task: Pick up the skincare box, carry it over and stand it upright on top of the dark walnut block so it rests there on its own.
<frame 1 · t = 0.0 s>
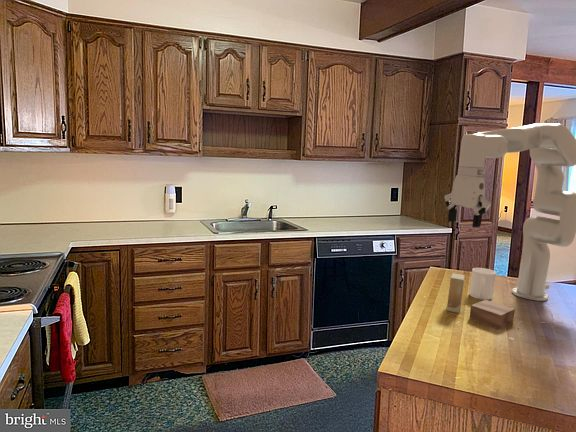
hand: (463, 224, 146), 31 cm above the counter, fingers open, 9 cm apart
mug: (480, 298, 169), on the counter
walnut block: (490, 321, 147), on the counter
skincare box: (453, 309, 155), on the counter
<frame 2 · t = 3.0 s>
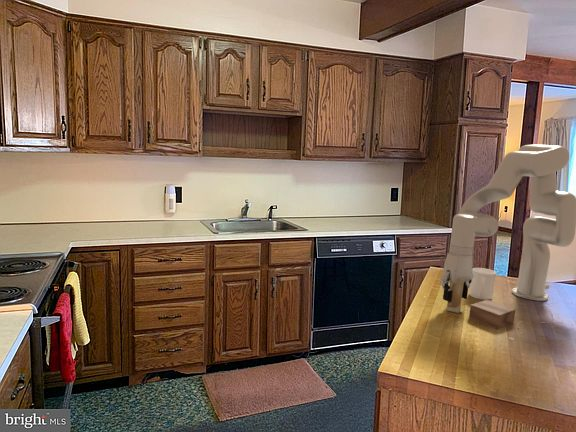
hand: (454, 298, 154), 4 cm above the counter, fingers closed on skincare box, 7 cm apart
skincare box: (453, 309, 155), on the counter, touching gripper
everything else where it was.
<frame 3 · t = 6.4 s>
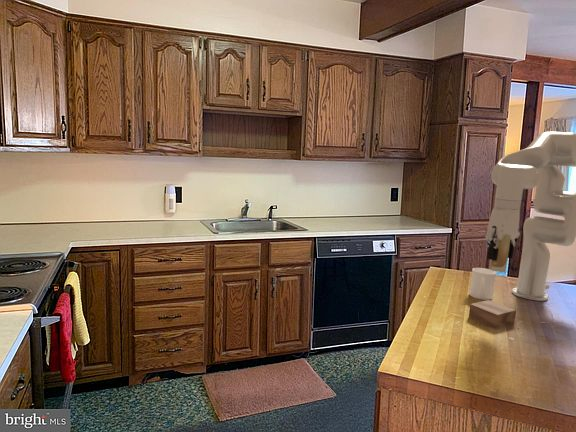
hand: (499, 258, 143), 21 cm above the counter, fingers closed on skincare box, 7 cm apart
skincare box: (498, 270, 144), point 17 cm above the counter, touching gripper
everything else where it was.
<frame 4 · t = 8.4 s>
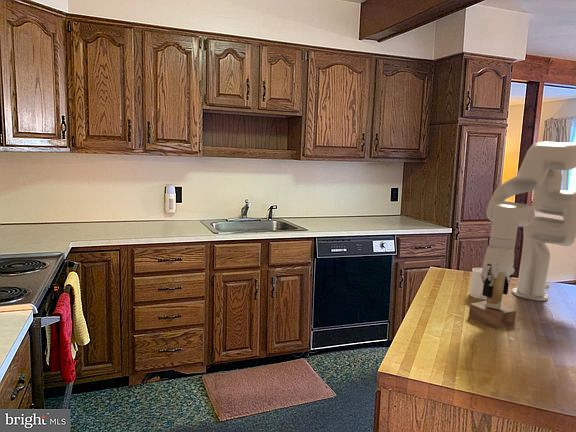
hand: (494, 294, 145), 9 cm above the counter, fingers closed on skincare box, 7 cm apart
skincare box: (493, 306, 146), point 5 cm above the counter, touching gripper
everything else where it was.
when the fingers open (9 cm above the counter, at t = 9.9 s): skincare box stays where it is, point 4 cm above the counter.
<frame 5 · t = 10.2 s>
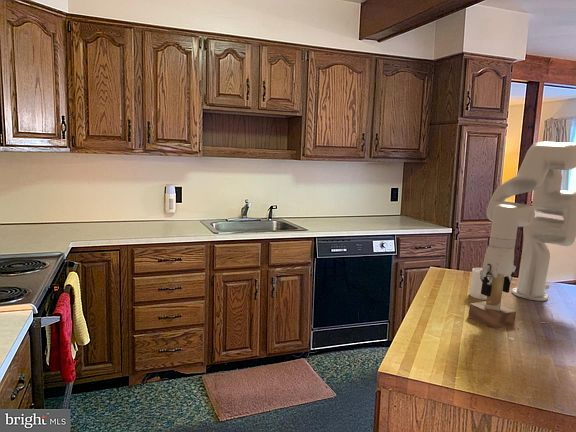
hand: (494, 293, 145), 9 cm above the counter, fingers open, 9 cm apart
skincare box: (492, 307, 146), point 4 cm above the counter
everything else where it was.
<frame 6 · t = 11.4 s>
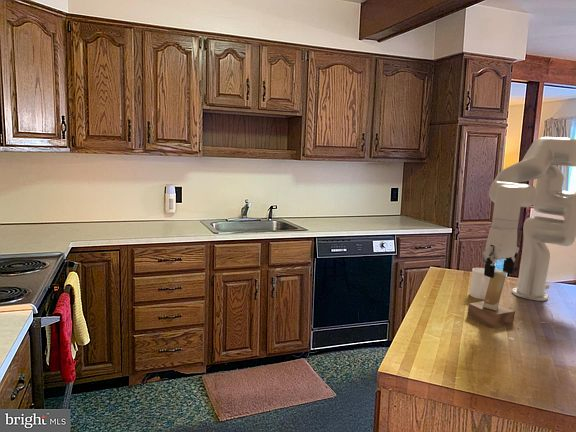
hand: (498, 274, 145), 16 cm above the counter, fingers open, 9 cm apart
skincare box: (490, 307, 146), point 5 cm above the counter, touching gripper
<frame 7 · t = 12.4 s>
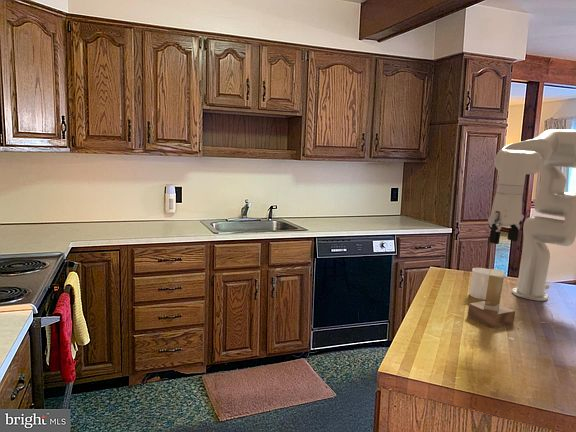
hand: (503, 241, 145), 26 cm above the counter, fingers open, 9 cm apart
walnut block: (489, 321, 147), on the counter, touching skincare box
skincare box: (491, 307, 145), point 5 cm above the counter, touching walnut block
everything else where it was.
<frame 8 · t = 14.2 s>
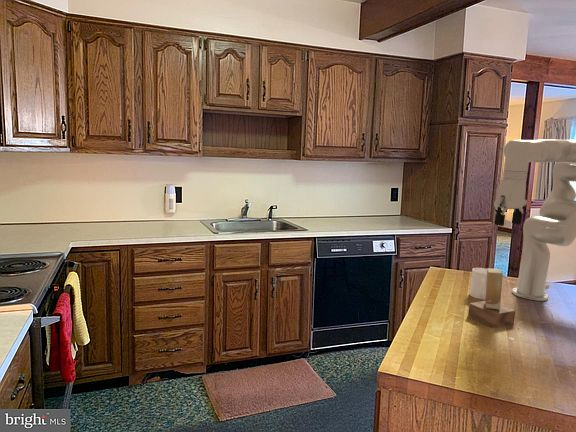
hand: (507, 224, 155), 30 cm above the counter, fingers open, 9 cm apart
at the end: skincare box inside the target area on the walnut block (0.4 cm from its centre), point 4.9 cm above the walnut block's base; skincare box tilted 3°; the gripper is holding nothing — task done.
